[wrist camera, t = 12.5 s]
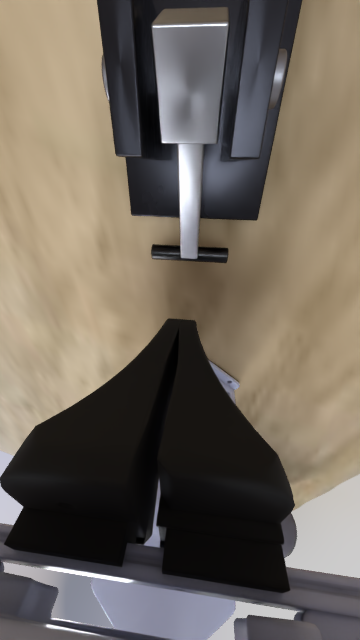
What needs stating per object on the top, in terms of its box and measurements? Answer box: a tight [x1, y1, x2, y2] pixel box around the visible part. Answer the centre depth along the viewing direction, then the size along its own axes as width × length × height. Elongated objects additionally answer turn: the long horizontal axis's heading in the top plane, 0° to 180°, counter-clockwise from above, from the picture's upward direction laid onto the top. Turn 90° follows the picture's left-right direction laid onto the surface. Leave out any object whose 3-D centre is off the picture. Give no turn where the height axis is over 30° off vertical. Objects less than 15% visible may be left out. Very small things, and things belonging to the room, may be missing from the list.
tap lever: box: [151, 7, 230, 263], centre depth 11 cm, size 10×5×2 cm, turn 178°
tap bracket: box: [97, 0, 302, 220], centre depth 10 cm, size 11×9×9 cm
